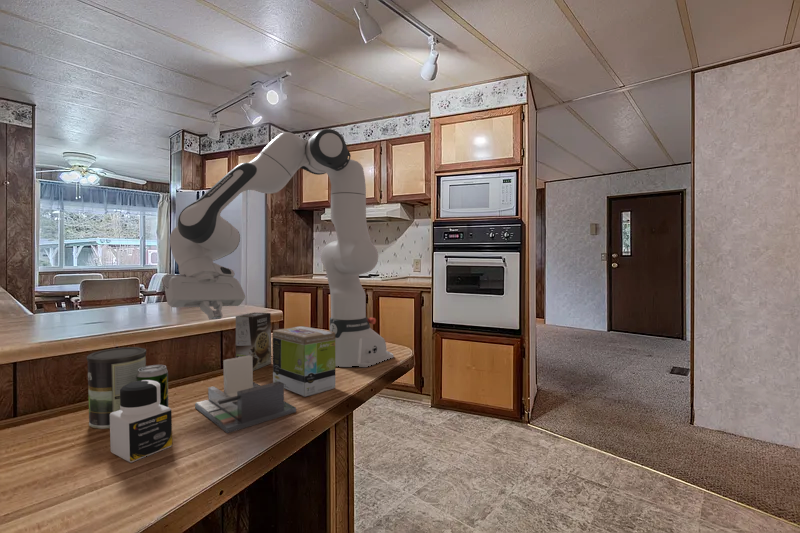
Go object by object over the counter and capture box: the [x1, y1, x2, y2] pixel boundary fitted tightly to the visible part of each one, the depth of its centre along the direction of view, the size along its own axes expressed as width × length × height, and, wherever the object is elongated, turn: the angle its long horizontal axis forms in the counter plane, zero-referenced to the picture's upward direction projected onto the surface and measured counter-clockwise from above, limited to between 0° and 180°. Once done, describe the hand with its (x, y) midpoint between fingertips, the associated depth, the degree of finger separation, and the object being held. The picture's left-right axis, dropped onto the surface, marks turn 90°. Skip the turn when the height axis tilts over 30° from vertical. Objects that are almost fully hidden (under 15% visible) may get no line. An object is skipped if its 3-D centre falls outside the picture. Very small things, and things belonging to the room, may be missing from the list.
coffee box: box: [235, 312, 272, 371], centre depth 126 cm, size 9×6×16 cm
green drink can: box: [136, 364, 170, 408], centre depth 82 cm, size 5×5×12 cm
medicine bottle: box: [109, 380, 173, 463], centre depth 73 cm, size 7×7×12 cm
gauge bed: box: [194, 381, 297, 434], centre depth 92 cm, size 15×18×7 cm
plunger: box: [218, 355, 254, 405], centre depth 90 cm, size 10×9×10 cm
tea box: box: [272, 325, 337, 397], centre depth 108 cm, size 15×10×15 cm
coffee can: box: [86, 346, 147, 430], centre depth 87 cm, size 10×10×14 cm
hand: (216, 318), depth 106 cm, fingers closed
